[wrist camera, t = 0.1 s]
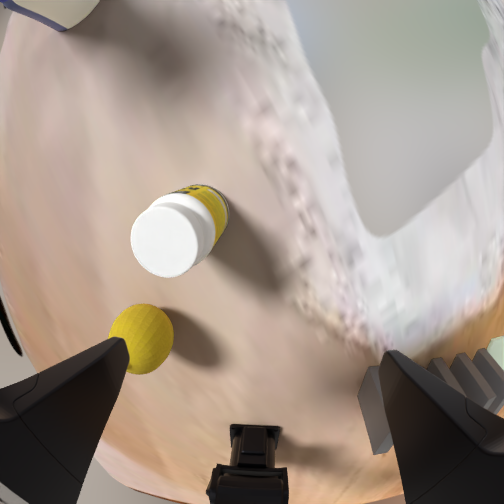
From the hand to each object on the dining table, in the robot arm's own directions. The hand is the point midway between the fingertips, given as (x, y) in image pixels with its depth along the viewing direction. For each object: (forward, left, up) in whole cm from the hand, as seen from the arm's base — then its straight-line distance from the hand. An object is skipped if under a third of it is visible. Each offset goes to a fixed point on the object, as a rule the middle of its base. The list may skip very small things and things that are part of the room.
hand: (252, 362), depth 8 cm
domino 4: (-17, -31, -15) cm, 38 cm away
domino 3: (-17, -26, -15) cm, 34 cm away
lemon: (-8, +10, -15) cm, 20 cm away
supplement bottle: (+2, +5, -15) cm, 16 cm away
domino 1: (-17, -13, -15) cm, 26 cm away
